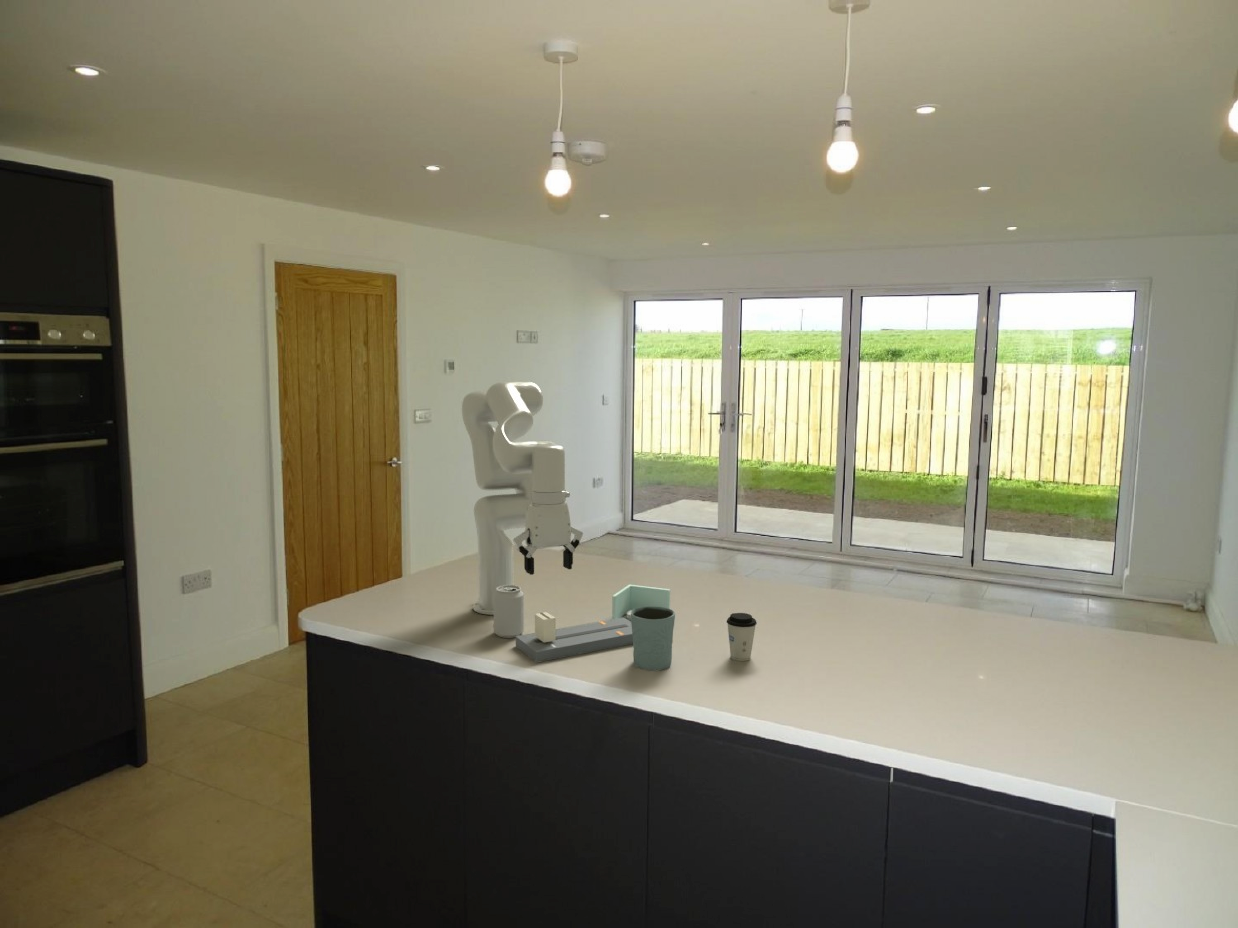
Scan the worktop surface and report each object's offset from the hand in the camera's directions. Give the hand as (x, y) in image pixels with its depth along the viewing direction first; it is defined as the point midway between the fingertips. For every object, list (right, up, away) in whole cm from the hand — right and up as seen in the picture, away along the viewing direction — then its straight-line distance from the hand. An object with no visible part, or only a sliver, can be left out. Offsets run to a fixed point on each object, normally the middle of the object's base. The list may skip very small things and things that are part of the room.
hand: (548, 570), depth 191 cm
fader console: (+7, -19, +9) cm, 22 cm away
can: (-11, -18, +15) cm, 26 cm away
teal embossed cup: (+24, -21, -3) cm, 32 cm away
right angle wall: (+22, -17, +29) cm, 40 cm away
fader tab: (-1, -16, +3) cm, 17 cm away
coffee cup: (+45, -21, 0) cm, 49 cm away
